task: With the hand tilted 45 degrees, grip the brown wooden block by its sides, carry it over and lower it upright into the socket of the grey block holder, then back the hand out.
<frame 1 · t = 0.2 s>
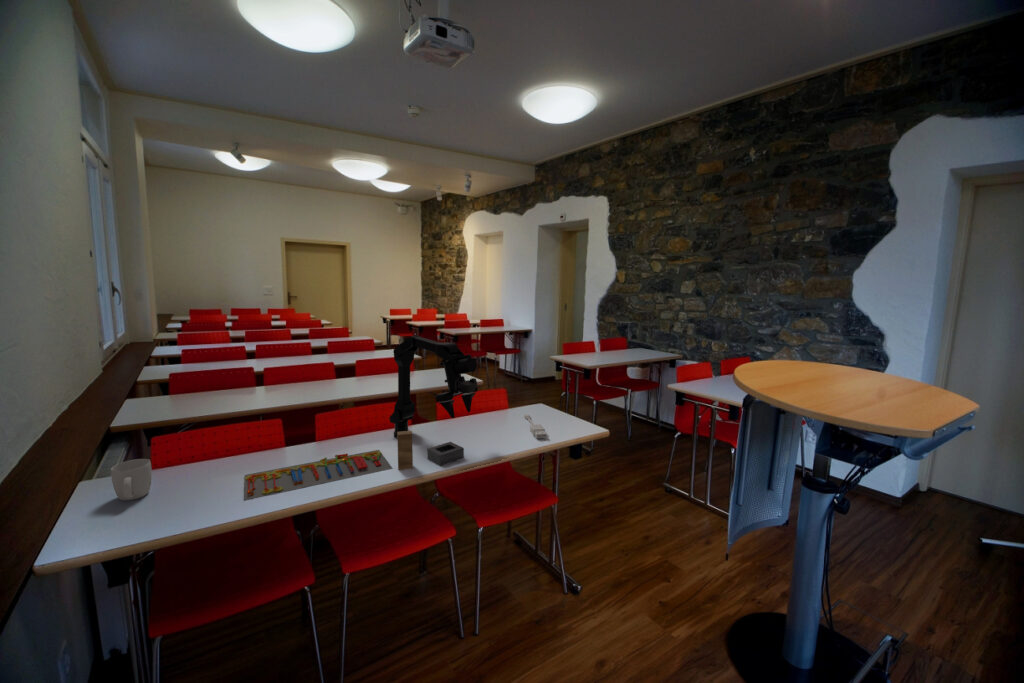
hand: (461, 415, 163), 15 cm above the table, tool pointing down, fingers open, 9 cm apart
mug: (133, 499, 128), on the table
gear board: (320, 473, 147), on the table
brown wooden block: (405, 467, 152), on the table
grey block holder: (445, 458, 160), on the table
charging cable: (533, 428, 195), on the table
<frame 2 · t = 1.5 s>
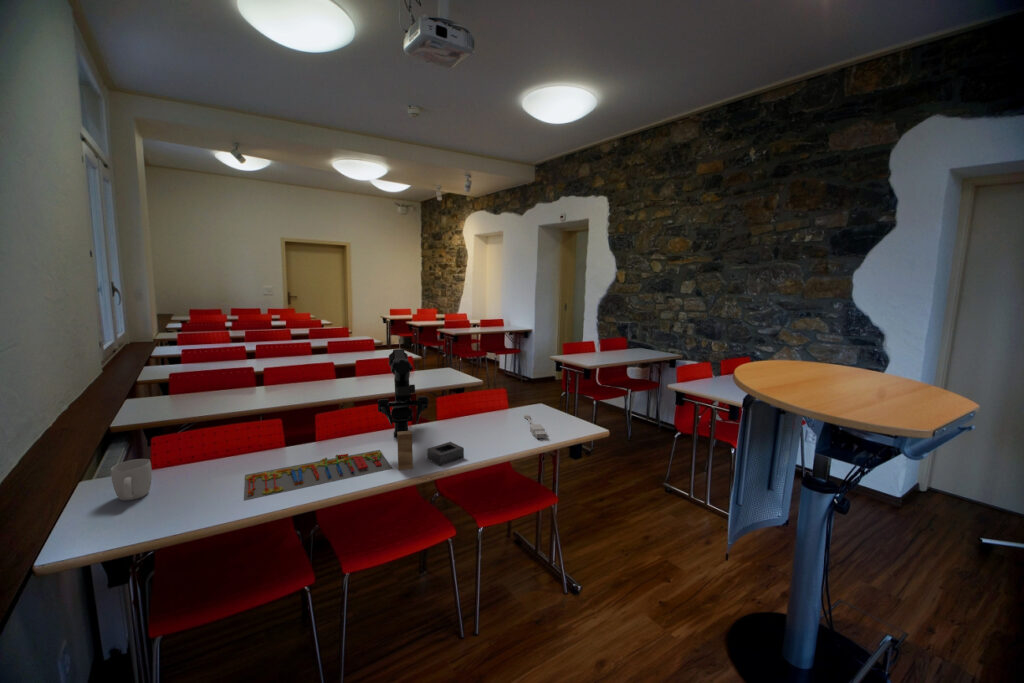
hand: (404, 424, 157), 13 cm above the table, tool tilted 45°, fingers open, 9 cm apart
nothing on the table moved.
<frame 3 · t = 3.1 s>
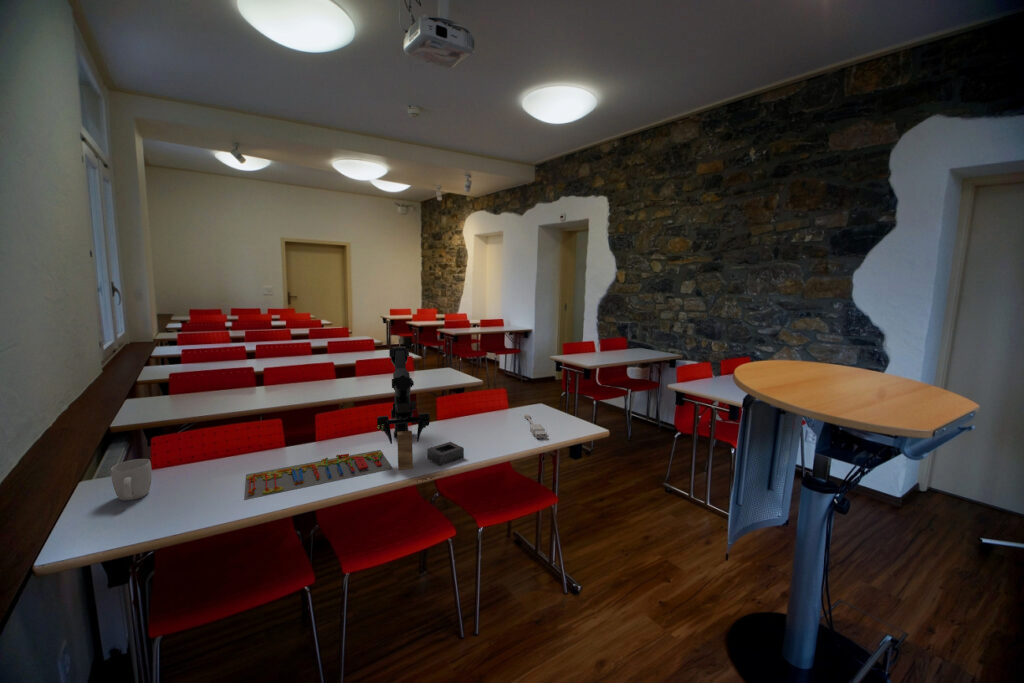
hand: (404, 442, 151), 9 cm above the table, tool tilted 45°, fingers open, 9 cm apart
nothing on the table moved.
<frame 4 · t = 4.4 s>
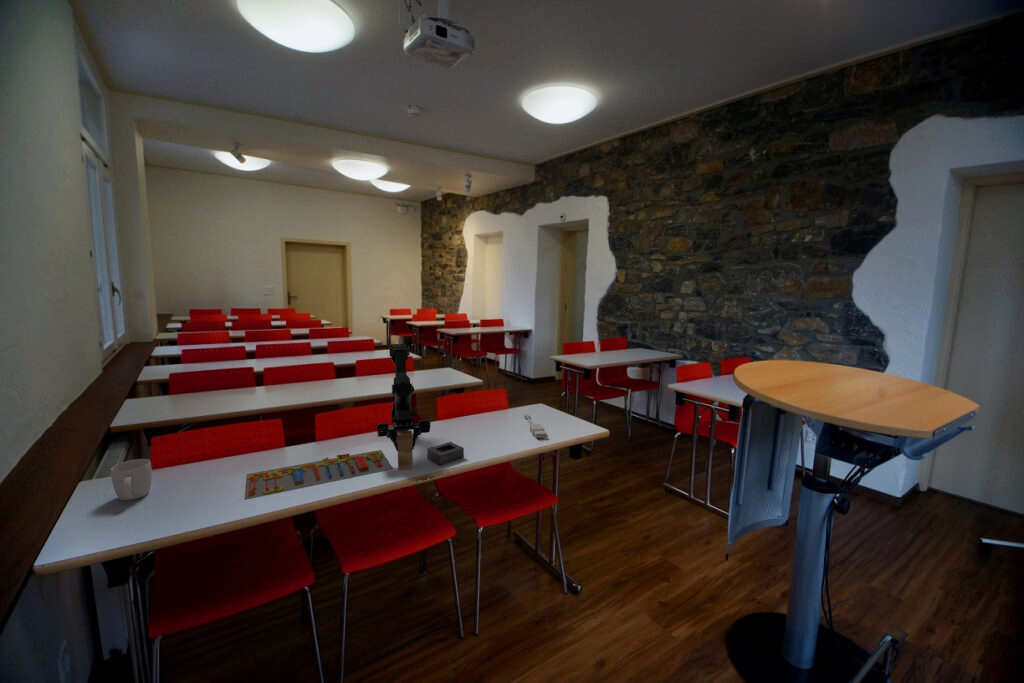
hand: (405, 449, 149), 7 cm above the table, tool tilted 45°, fingers closed on brown wooden block, 5 cm apart
brown wooden block: (405, 467, 152), on the table, touching gripper
everything else where it was.
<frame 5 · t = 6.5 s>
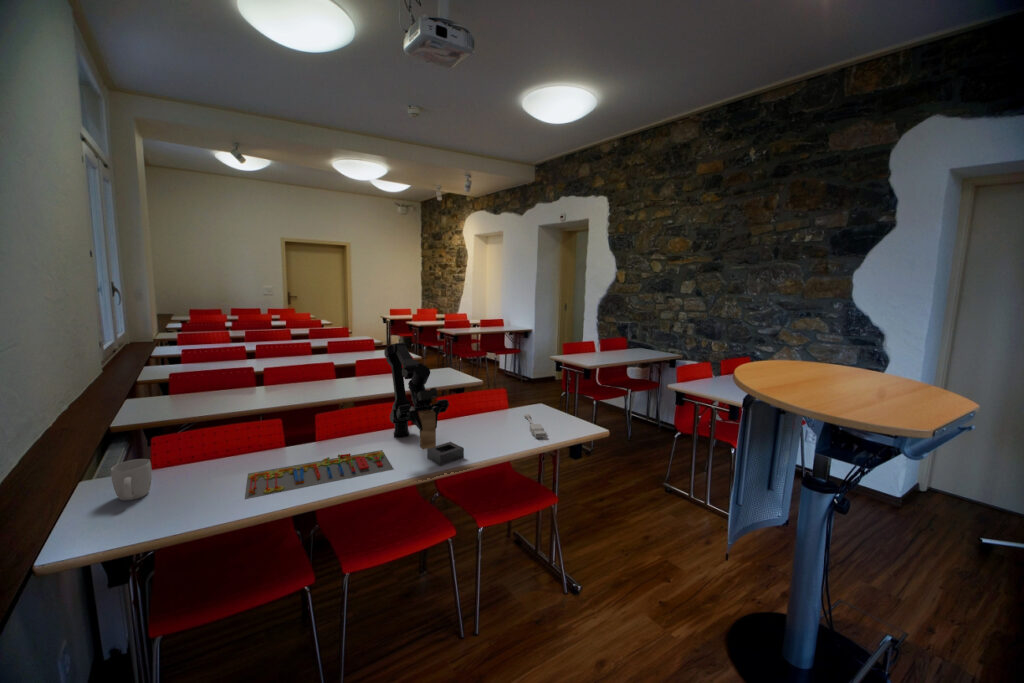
hand: (428, 429, 152), 13 cm above the table, tool tilted 45°, fingers closed on brown wooden block, 5 cm apart
brown wooden block: (427, 446, 154), point 6 cm above the table, touching gripper
everything else where it was.
when the fingers open (8 cm above the table, at t = 8.7 s): brown wooden block drops 1 cm, resting in grey block holder.
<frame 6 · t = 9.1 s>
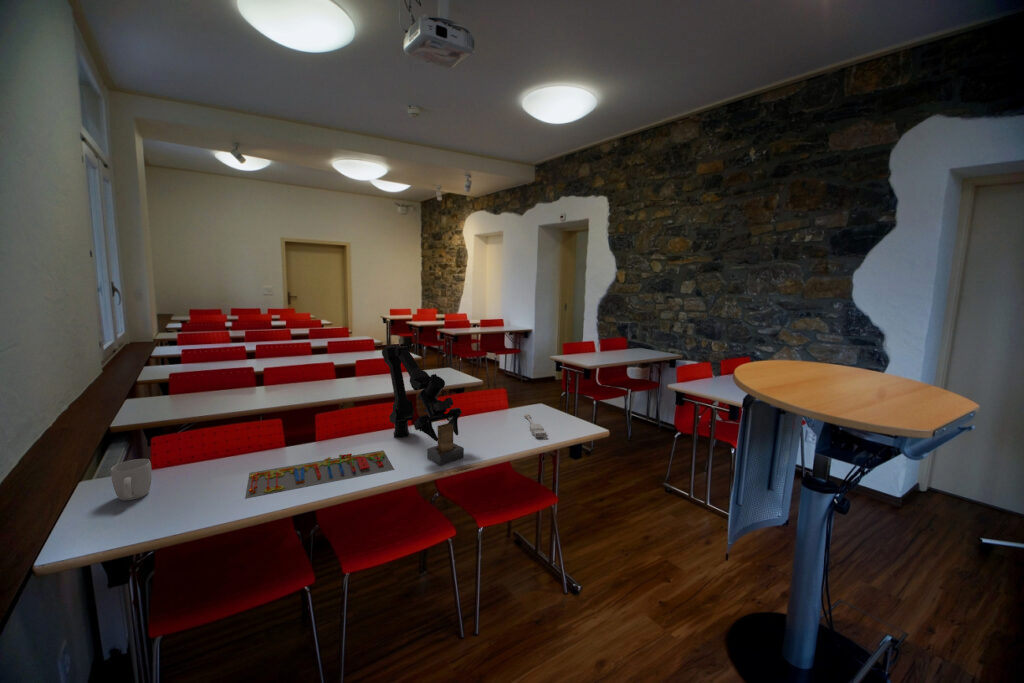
hand: (447, 437, 157), 9 cm above the table, tool tilted 45°, fingers open, 9 cm apart
brown wooden block: (445, 458, 160), resting in grey block holder
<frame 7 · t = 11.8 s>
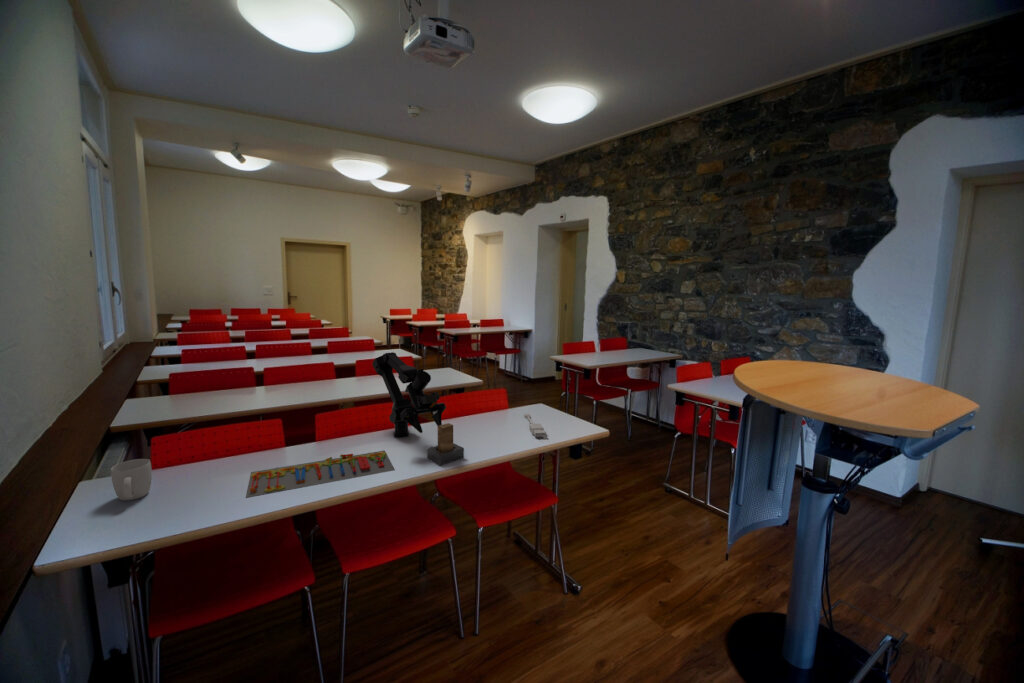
hand: (431, 430, 164), 9 cm above the table, tool tilted 40°, fingers open, 9 cm apart
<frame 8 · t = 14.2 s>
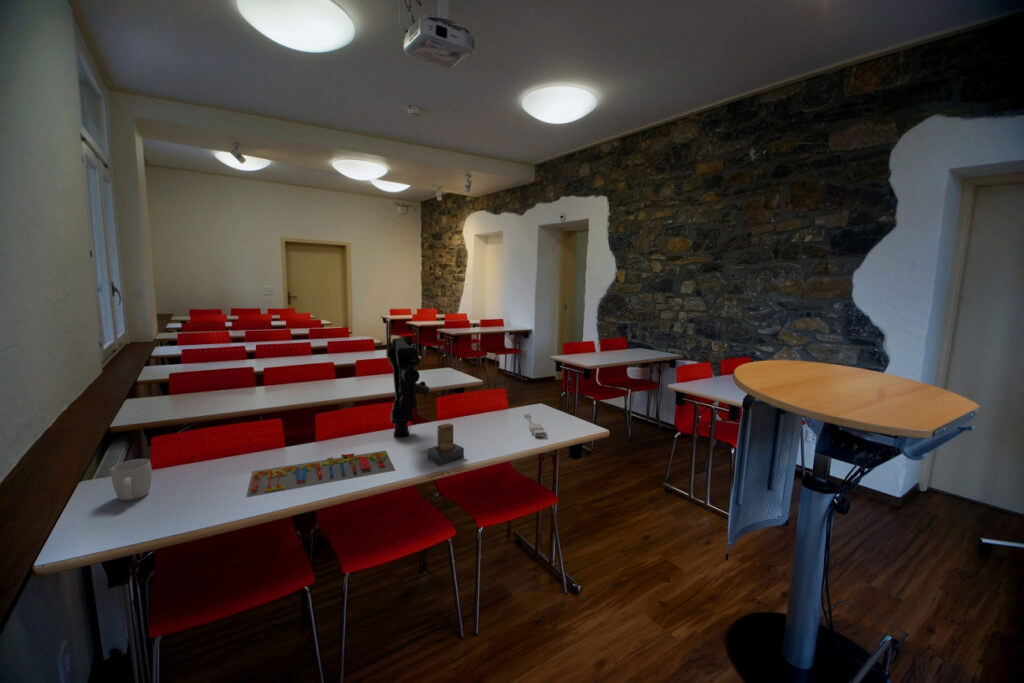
hand: (407, 416, 167), 13 cm above the table, tool pointing down, fingers open, 9 cm apart
at the end: brown wooden block 0.0 cm off-centre on the grey block holder, point 0.0 cm above the grey block holder's base; brown wooden block tilted 0°; the gripper is holding nothing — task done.
